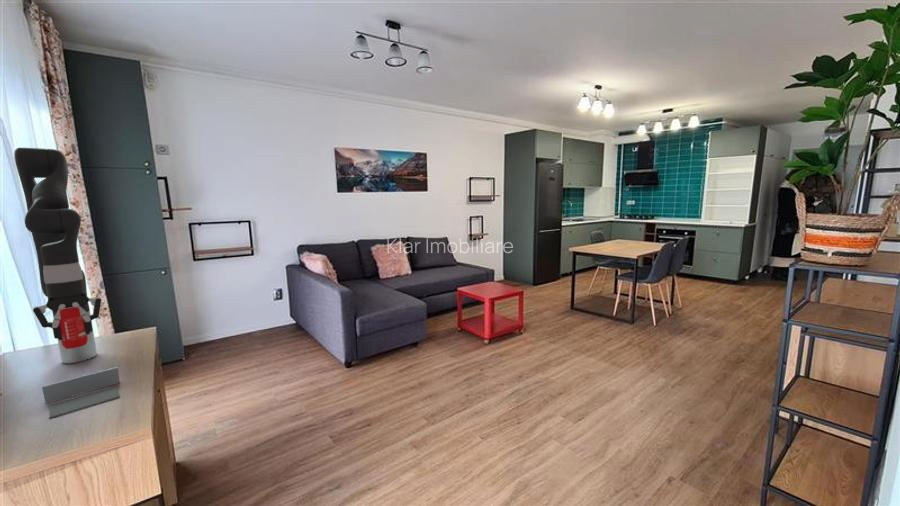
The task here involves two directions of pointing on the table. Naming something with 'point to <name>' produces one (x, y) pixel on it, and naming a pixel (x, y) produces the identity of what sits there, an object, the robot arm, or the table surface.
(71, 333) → the beverage can
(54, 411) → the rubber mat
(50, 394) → the low wall
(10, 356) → the table surface
